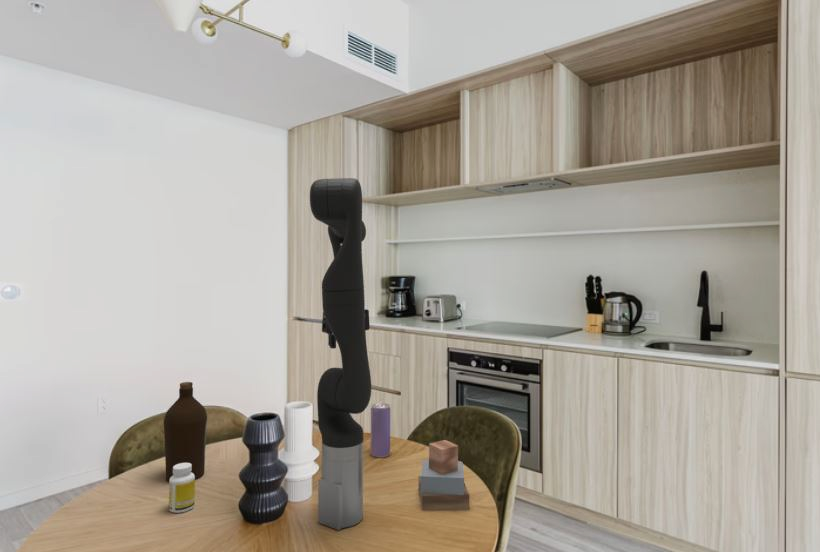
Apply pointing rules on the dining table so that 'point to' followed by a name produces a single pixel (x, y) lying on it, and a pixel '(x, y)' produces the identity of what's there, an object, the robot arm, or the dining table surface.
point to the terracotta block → (443, 457)
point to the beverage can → (380, 430)
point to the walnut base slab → (443, 500)
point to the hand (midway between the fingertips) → (346, 346)
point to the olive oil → (185, 432)
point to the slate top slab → (442, 481)
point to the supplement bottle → (182, 488)
